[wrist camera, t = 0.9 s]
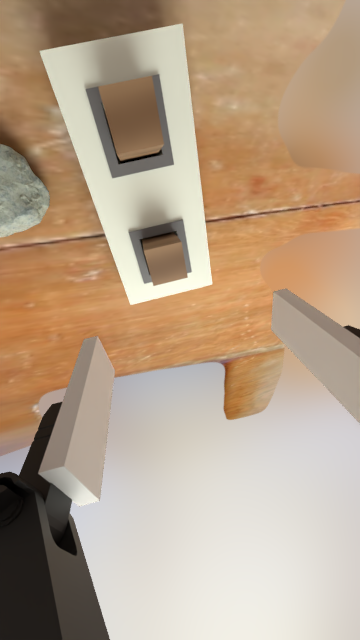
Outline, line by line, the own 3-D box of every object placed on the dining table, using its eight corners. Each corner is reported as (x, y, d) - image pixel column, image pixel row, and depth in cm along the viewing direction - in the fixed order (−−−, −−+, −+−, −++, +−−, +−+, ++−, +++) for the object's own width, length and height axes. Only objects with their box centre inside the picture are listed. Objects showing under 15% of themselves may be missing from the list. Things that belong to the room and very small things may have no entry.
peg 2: (142, 239, 27) (143, 250, 22) (173, 231, 27) (181, 241, 22) (150, 269, 29) (153, 286, 24) (178, 262, 30) (187, 277, 25)
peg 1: (107, 110, 21) (98, 86, 16) (148, 102, 21) (151, 75, 16) (121, 161, 23) (116, 154, 18) (157, 153, 23) (164, 144, 18)
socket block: (60, 81, 23) (37, 48, 17) (172, 59, 23) (183, 20, 18) (131, 288, 36) (130, 306, 30) (201, 270, 36) (213, 285, 31)
